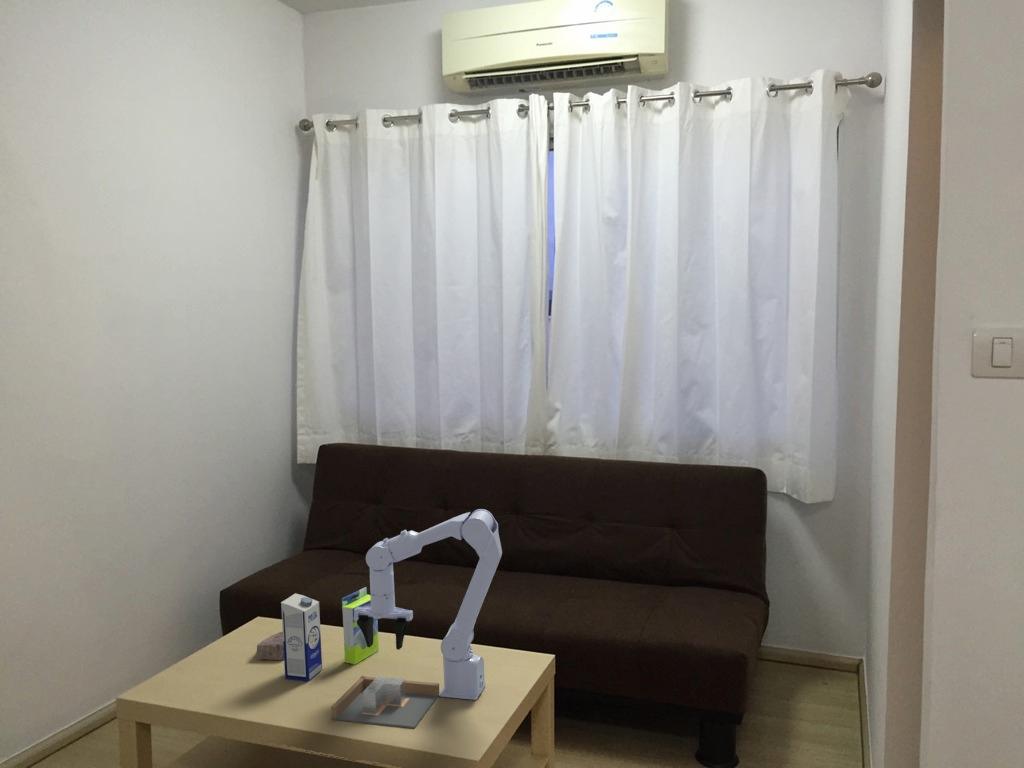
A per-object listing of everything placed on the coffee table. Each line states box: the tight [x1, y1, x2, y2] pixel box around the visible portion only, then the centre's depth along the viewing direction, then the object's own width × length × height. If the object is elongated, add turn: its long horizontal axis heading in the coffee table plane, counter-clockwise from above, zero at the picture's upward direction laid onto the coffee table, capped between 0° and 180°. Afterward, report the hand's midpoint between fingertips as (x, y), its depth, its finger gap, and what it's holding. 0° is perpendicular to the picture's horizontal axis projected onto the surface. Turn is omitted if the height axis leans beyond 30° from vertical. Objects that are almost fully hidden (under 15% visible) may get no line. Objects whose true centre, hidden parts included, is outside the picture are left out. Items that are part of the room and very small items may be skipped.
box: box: [341, 586, 380, 665], centre depth 217 cm, size 10×4×17 cm, turn 151°
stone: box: [256, 631, 284, 661], centre depth 222 cm, size 12×9×5 cm
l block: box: [363, 676, 406, 714], centre depth 188 cm, size 8×7×5 cm
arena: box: [330, 675, 440, 730], centre depth 189 cm, size 20×16×3 cm
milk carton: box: [280, 592, 323, 682], centre depth 207 cm, size 7×7×20 cm
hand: (384, 646), depth 198 cm, fingers open, 7 cm apart
